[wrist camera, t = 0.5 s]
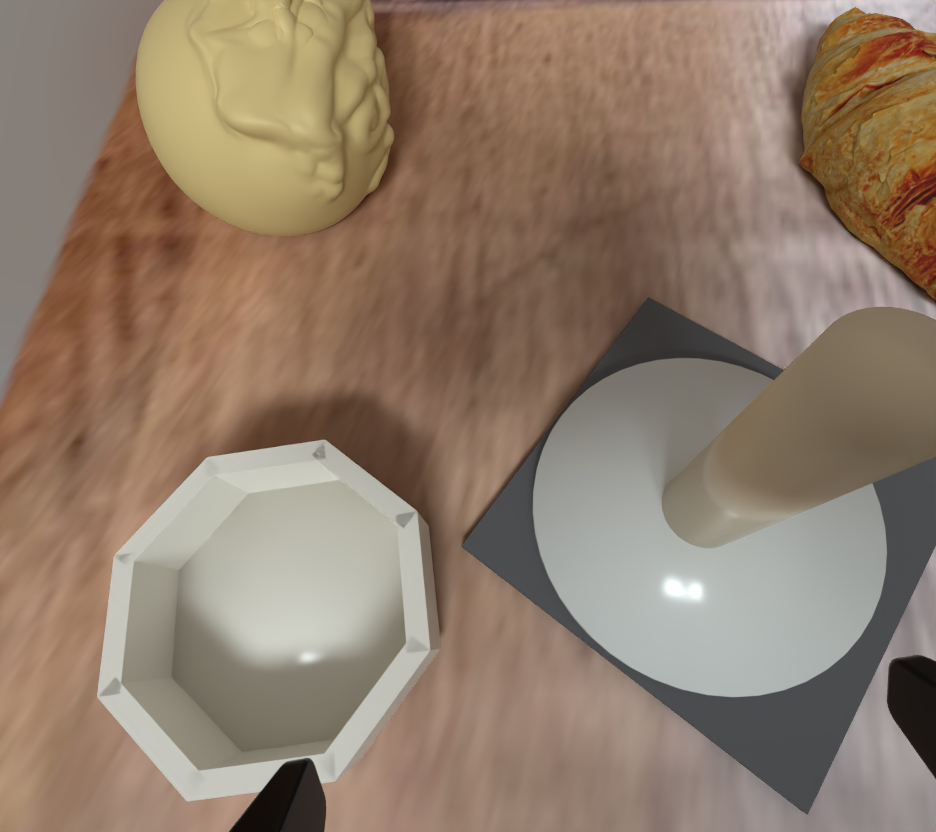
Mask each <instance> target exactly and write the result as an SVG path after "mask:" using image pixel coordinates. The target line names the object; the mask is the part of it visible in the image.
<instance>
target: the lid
mask: <svg viewBox="0 0 936 832" xmlns="http://www.w3.org/2000/svg"><path fill="white" fill-rule="evenodd" d="M934 457H936V320H934V319H932V318H930V317H928V316H925V315H923V314H920V313H917V312H914V311H910V310H905V309H901V308H893V307H873V308H866V309H861V310H857V311H854V312H851V313H849V314H847V315H845V316H843V317H841V318H839V319H838V320H836V321H835V322H834V323H833V324H832V325H831V326H829V327H828V328H827V329H826V330H825V331H824V332H823V333H822V334H821V335H820V336H819V337H818V338H817V339H816V340H815V341H814V342H813V343H812V344H811V345H810V346H809V347H808V348H807V349H806V350H805V351H804V352H803V353H802V354H801V355H800V356H799V357H797V358H796V359H795V360H794V361H793V362H792V363H791V364H790V365H789V366H788V367H787V368H786V369H785V370H784V371H783V372H782V373H781V374H780V375H779V376H778V377H777V378H776V379H775V380H773V379H771V378H768V377H766V376H764V375H762V374H760V373H757V372H755V371H752V370H749V369H746V368H743V367H741V366H737V365H733V364H729V363H725V362H721V361H714V360H706V359H699V358H673V359H662V360H655V361H651V362H646V363H641V364H637V365H635V366H632V367H629V368H626V369H623V370H620V371H618V372H616V373H614V374H612V375H610V376H608V377H606V378H604V379H602V380H601V381H599V382H598V383H596V384H595V385H593V386H592V387H590V388H589V389H587V390H586V391H585V392H584V393H583V394H582V395H581V396H579V397H578V398H577V399H576V400H575V401H574V402H573V403H572V404H571V405H570V406H569V408H568V409H567V410H566V411H565V412H564V413H563V414H562V416H561V417H560V419H559V420H558V422H557V423H556V425H555V426H554V428H553V429H552V431H551V433H550V435H549V437H548V439H547V441H546V443H545V446H544V448H543V450H542V453H541V456H540V460H539V463H538V466H537V470H536V476H535V483H534V489H533V508H532V515H533V524H534V534H535V539H536V543H537V547H538V551H539V555H540V558H541V561H542V563H543V566H544V569H545V571H546V574H547V577H548V579H549V581H550V582H551V584H552V586H553V588H554V590H555V592H556V594H557V596H558V598H559V599H560V601H561V602H562V603H563V605H564V606H565V608H566V609H567V611H568V612H569V613H570V615H571V616H572V618H573V619H574V620H575V621H576V622H577V623H578V624H579V626H580V627H581V628H582V629H583V630H584V631H585V632H586V633H587V634H588V636H589V637H590V638H592V639H593V640H594V641H595V642H596V643H597V644H598V645H600V646H601V647H602V648H603V649H604V650H605V651H606V652H608V653H609V654H610V655H612V656H613V657H615V658H616V659H618V660H619V661H621V662H622V663H624V664H625V665H627V666H628V667H630V668H632V669H634V670H636V671H638V672H640V673H641V674H643V675H645V676H647V677H649V678H651V679H654V680H657V681H659V682H662V683H665V684H668V685H670V686H673V687H676V688H679V689H682V690H687V691H691V692H696V693H700V694H705V695H713V696H725V697H745V696H760V695H764V694H769V693H774V692H778V691H783V690H786V689H788V688H791V687H794V686H796V685H799V684H801V683H804V682H807V681H808V680H810V679H812V678H813V677H815V676H817V675H819V674H820V673H822V672H824V671H825V670H827V669H828V668H830V667H831V666H832V665H833V664H834V663H836V662H837V661H838V660H839V659H840V658H842V657H843V656H844V655H845V654H846V653H847V652H848V651H849V650H850V648H851V647H852V646H853V645H854V644H855V643H856V641H857V640H858V639H859V638H860V637H861V635H862V633H863V632H864V630H865V628H866V627H867V625H868V623H869V622H870V620H871V618H872V616H873V614H874V611H875V609H876V606H877V604H878V601H879V599H880V596H881V592H882V587H883V583H884V578H885V573H886V558H887V545H886V532H885V525H884V520H883V515H882V511H881V506H880V503H879V500H878V497H877V495H876V492H875V489H874V486H873V484H872V483H874V482H876V481H879V480H881V479H884V478H886V477H888V476H891V475H893V474H896V473H898V472H900V471H903V470H905V469H907V468H910V467H912V466H915V465H917V464H919V463H922V462H924V461H927V460H929V459H931V458H934Z"/></svg>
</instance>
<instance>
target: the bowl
mask: <svg viewBox="0 0 936 832" xmlns="http://www.w3.org/2000/svg"><path fill="white" fill-rule="evenodd" d="M440 649H441V641H440V631H439V622H438V612H437V602H436V592H435V582H434V573H433V563H432V553H431V543H430V533H429V526H428V524H427V523H426V522H425V521H424V519H423V518H422V517H421V515H420V514H419V513H418V512H417V511H416V510H415V509H414V508H413V507H411V506H410V505H409V504H407V503H406V502H405V501H404V500H402V499H401V498H400V497H398V496H397V495H396V494H395V493H393V492H392V491H391V490H389V489H388V488H387V487H385V486H384V485H383V484H382V483H380V482H379V481H378V480H376V479H375V478H374V477H373V476H371V475H370V474H369V473H367V472H366V471H365V470H364V469H362V468H361V467H360V466H358V465H357V464H356V463H355V462H353V461H352V460H351V459H349V458H348V457H347V456H346V455H344V454H343V453H342V452H340V451H339V450H338V449H337V448H335V447H334V446H333V445H331V444H330V443H329V442H328V441H326V440H318V441H312V442H305V443H298V444H292V445H285V446H278V447H272V448H265V449H258V450H252V451H245V452H238V453H232V454H225V455H218V456H212V457H207V458H206V459H205V460H204V461H203V462H202V463H201V464H200V465H199V466H198V467H197V468H196V469H195V471H194V472H193V473H192V474H191V475H190V476H189V477H188V478H187V479H186V480H185V481H184V482H183V483H182V484H181V485H180V486H179V487H178V488H177V490H176V491H175V492H174V493H173V494H172V495H171V496H170V497H169V498H168V499H167V500H166V501H165V502H164V503H163V504H162V505H161V506H160V507H159V509H158V510H157V511H156V512H155V513H154V514H153V515H152V516H151V517H150V518H149V519H148V520H147V521H146V522H145V523H144V524H143V525H142V526H141V528H140V529H139V530H138V531H137V532H136V533H135V534H134V535H133V536H132V537H131V538H130V539H129V540H128V541H127V542H126V543H125V544H124V546H123V547H122V548H121V549H120V550H119V551H118V552H117V553H116V554H115V555H114V560H113V568H112V577H111V585H110V594H109V602H108V610H107V619H106V627H105V636H104V644H103V652H102V661H101V669H100V677H99V686H98V694H97V697H98V699H99V700H100V701H101V702H102V703H103V704H104V706H105V707H106V708H107V709H108V710H109V711H110V713H111V714H112V715H113V716H114V717H115V718H116V720H117V721H118V722H119V723H120V724H121V725H122V727H123V728H124V729H125V730H126V731H127V732H128V734H129V735H130V736H131V737H132V738H133V739H134V740H135V742H136V743H137V744H138V745H139V746H140V747H141V749H142V750H143V751H144V752H145V753H146V754H147V756H148V757H149V758H150V759H151V760H152V761H153V763H154V764H155V765H156V766H157V767H158V768H159V770H160V771H161V772H162V773H163V774H164V775H165V777H166V778H167V779H168V780H169V781H170V782H171V783H172V785H173V786H174V787H175V788H176V789H177V790H178V792H179V793H180V794H181V795H182V796H183V797H184V799H185V800H186V801H194V800H202V799H209V798H217V797H224V796H231V795H239V794H246V793H253V792H261V790H262V789H263V788H264V787H265V785H266V784H267V783H268V782H269V780H270V779H271V778H272V777H273V775H274V774H275V773H276V771H277V770H278V769H279V768H280V767H281V765H283V764H284V763H285V762H287V761H291V760H297V759H303V758H310V759H312V761H313V762H314V764H315V767H316V770H317V773H318V776H319V779H320V782H321V783H327V782H334V781H336V780H338V779H339V778H340V777H341V776H342V775H344V774H345V773H346V772H347V771H348V770H350V769H351V768H352V767H353V766H354V765H356V764H357V763H358V762H359V761H360V760H361V759H362V757H363V756H364V755H365V753H366V752H367V750H368V749H369V748H370V746H371V745H372V743H373V742H374V741H375V739H376V738H377V737H378V735H379V734H380V732H381V731H382V730H383V728H384V727H385V725H386V724H387V723H388V721H389V720H390V718H391V717H392V716H393V714H394V713H395V712H396V710H397V709H398V707H399V706H400V705H401V703H402V702H403V700H404V699H405V698H406V696H407V695H408V693H409V692H410V691H411V689H412V688H413V687H414V685H415V684H416V682H417V681H418V680H419V678H420V677H421V675H422V674H423V673H424V671H425V670H426V668H427V667H428V666H429V664H430V663H431V662H432V660H433V659H434V657H435V656H436V655H437V653H438V652H439V650H440Z"/></svg>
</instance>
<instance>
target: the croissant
mask: <svg viewBox="0 0 936 832" xmlns="http://www.w3.org/2000/svg"><path fill="white" fill-rule="evenodd" d="M801 122H802V126H803V132H804V133H803V140H804V149H805V152H804V153H803V155H802V156H801V158H800V159H799V165H800V166H801V167H803V168H804V169H805V170H806V171H808V172H810V173H811V174H812V175H813V176H814V177H815V178H816V179H817V180H818V181H819V182H820V183H821V184H822V185H823V186H824V188H825V194H826V198H827V201H828V202H829V204H830V208H831V209H832V210H833V211H834V212H835V213H836V214H837V215H838V217H839V218H840V219H841V221H842V222H843V223H844V225H845V226H846V227H847V229H848V230H849V231H850V232H852V233H853V234H854V235H856V236H857V237H858V238H859V239H860V240H861V241H863V242H865V243H867V244H869V245H870V246H872V247H874V248H875V249H876V250H877V251H878V252H879V253H880V254H881V255H882V256H883V257H884V258H885V259H886V260H887V261H889V262H890V263H892V264H893V265H895V266H896V267H898V268H899V269H901V270H902V271H903V272H904V273H905V274H906V275H907V276H908V277H909V278H910V279H911V280H912V281H913V282H914V283H916V284H917V285H918V286H920V287H921V288H923V289H924V290H926V291H927V294H928V295H929V296H931V297H932V298H933V299H934V300H936V33H928V32H923V31H919V30H916V29H914V28H913V27H912V26H911V25H910V24H909V23H908V22H906V21H905V20H903V19H900V18H896V17H892V16H887V15H882V14H877V13H874V14H870V13H869V14H866V13H864V12H863V11H861V10H859V9H858V8H856V7H855V8H853V9H851V10H849V11H847V12H845V13H844V14H842V15H840V16H839V17H837V18H835V20H834V21H833V22H832V23H831V24H830V26H829V27H828V29H827V30H826V32H825V33H824V35H823V36H822V37H821V38H820V41H819V44H818V48H817V54H816V58H815V62H814V65H813V67H812V68H811V70H810V72H809V75H808V79H807V82H806V88H805V91H804V94H803V107H802V114H801Z"/></svg>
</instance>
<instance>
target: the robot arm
mask: <svg viewBox="0 0 936 832" xmlns="http://www.w3.org/2000/svg"><path fill="white" fill-rule="evenodd" d="M887 704H888V708H889V711H890V713H891V715H892V717H893V719H894V720H895V722H896V723H897V725H898V726H899V728H900V729H901V730H902V732H903V733H904V735H905V736H906V738H907V739H908V740H909V742H910V743H911V745H912V746H913V747H914V749H915V750H916V752H917V753H918V755H919V756H920V757H921V759H922V760H923V762H924V763H925V764H926V766H927V767H928V769H929V770H930V772H931V773H932V774H933V776H934V777H935V779H936V661H934V660H932V659H929V658H927V657H924V656H920V655H914V656H908V657H902V658H896V659H893V660H892V661H891V663H890V664H889V671H888V689H887ZM325 819H326V800H325V795H324V792H323V789H322V786H321V782H320V779H319V776H318V773H317V770H316V767H315V764H314V762H313V761H312V759H310V758H303V759H297V760H291V761H287V762H285V763H284V764H283V765H281V767H280V768H279V769H278V770H277V771H276V773H275V774H274V775H273V777H272V778H271V779H270V780H269V782H268V783H267V784H266V785H265V787H264V788H263V789H262V790H261V792H260V793H259V794H258V796H257V797H256V798H255V799H254V801H253V802H252V803H251V804H250V806H249V807H248V808H247V809H246V811H245V812H244V813H243V814H242V816H241V817H240V818H239V820H238V821H237V822H236V823H235V825H234V826H233V827H232V828H231V830H230V831H229V832H324V829H325Z"/></svg>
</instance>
